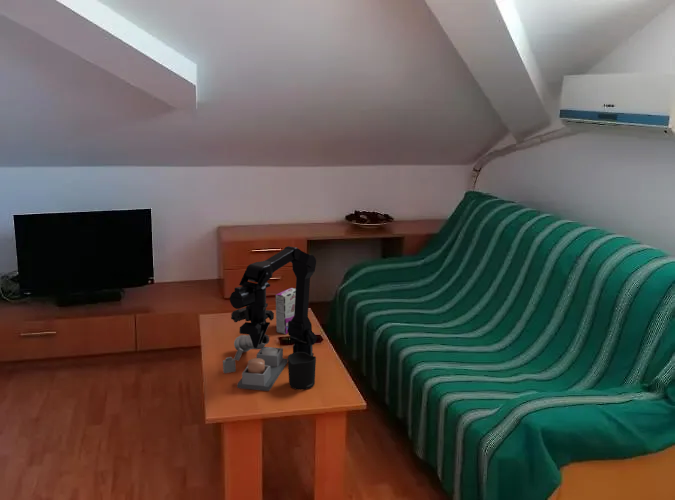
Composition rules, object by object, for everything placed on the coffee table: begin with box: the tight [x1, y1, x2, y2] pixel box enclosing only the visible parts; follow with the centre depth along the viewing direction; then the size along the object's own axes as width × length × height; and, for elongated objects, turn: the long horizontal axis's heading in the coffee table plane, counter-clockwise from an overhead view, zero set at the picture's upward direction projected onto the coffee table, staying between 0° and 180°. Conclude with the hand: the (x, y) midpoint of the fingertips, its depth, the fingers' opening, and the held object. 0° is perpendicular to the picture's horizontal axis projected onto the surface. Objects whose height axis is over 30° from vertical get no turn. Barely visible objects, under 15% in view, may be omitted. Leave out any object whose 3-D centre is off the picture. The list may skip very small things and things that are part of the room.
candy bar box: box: [274, 287, 296, 335], centre depth 279 cm, size 11×5×16 cm, turn 149°
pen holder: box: [287, 352, 317, 391], centre depth 229 cm, size 9×9×10 cm
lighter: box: [222, 348, 244, 374], centre depth 240 cm, size 7×2×8 cm, turn 117°
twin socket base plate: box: [236, 346, 288, 392], centre depth 237 cm, size 11×24×6 cm, turn 169°
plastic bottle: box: [233, 333, 270, 353], centre depth 250 cm, size 6×7×20 cm
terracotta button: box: [247, 357, 265, 374], centre depth 229 cm, size 6×6×4 cm
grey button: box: [262, 347, 278, 356], centre depth 244 cm, size 6×6×4 cm
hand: (257, 346), depth 230 cm, fingers open, 3 cm apart
